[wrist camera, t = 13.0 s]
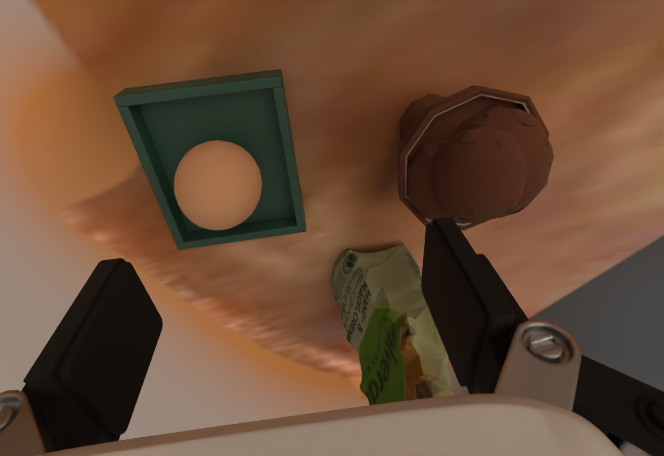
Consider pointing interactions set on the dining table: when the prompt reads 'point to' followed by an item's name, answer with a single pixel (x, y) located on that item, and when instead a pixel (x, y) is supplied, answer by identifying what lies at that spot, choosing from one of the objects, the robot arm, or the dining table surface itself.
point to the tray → (225, 125)
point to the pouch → (390, 326)
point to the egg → (217, 185)
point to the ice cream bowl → (472, 156)
